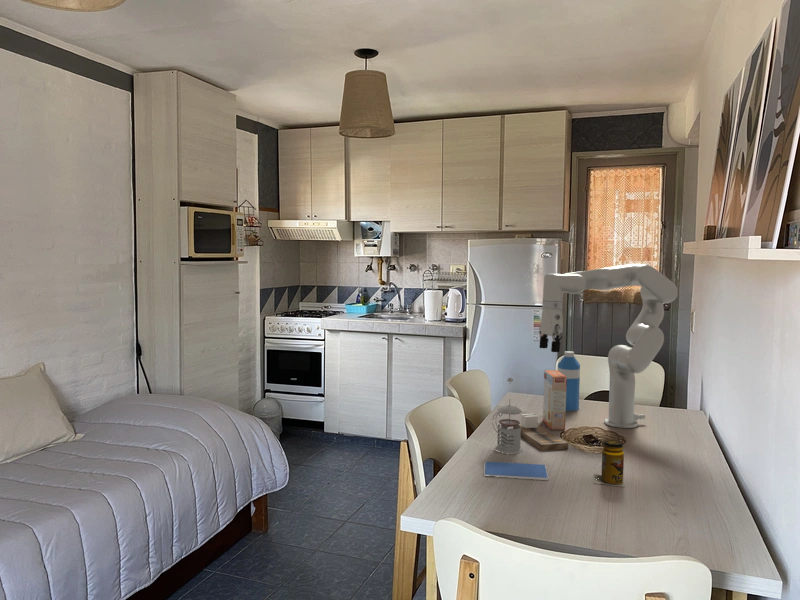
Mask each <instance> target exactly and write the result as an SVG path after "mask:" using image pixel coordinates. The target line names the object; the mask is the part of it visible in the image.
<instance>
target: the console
mask: <svg viewBox="0 0 800 600" xmlns="http://www.w3.org/2000/svg"><path fill="white" fill-rule="evenodd" d="M519 425H520V426H521V424H519ZM512 428H514V429H517V428H516V427H512ZM520 435H521V437H522V439H524V440H526V441H527V442H529V443H530V444H531V445H533V446H534V447H535V448H537V449H539V450H540V451H552V450H553V451H556V450H568V449H569V442H568V441H566V440H564V439H562V438H561V437H559V436H558V435H556V434H554V433H553V432H551V431H549V430H548V429H546V428H544V427H543V426H541V425H540V424H538V427H537V428H524V427H523V426H521V433H520ZM521 437H520V438H521Z"/></svg>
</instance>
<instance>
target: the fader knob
mask: <svg viewBox="0 0 800 600" xmlns="http://www.w3.org/2000/svg"><path fill="white" fill-rule="evenodd" d="M520 415H521V416H520V425H521V426H523V427H524V428H537V427H538V425H539V415H537V414H535V413H520Z"/></svg>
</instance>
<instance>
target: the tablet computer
mask: <svg viewBox="0 0 800 600" xmlns="http://www.w3.org/2000/svg"><path fill="white" fill-rule="evenodd" d="M547 469H548V468H547V465H546V464H540V463H539V464H538V463H524V462H523V463H519V462H505V461H504V462H502V461H501V462H500V461H485V462H484V464H483V473H484V475H489V476H499V477H508V478H507V479H514V478H518V479H519V480H531V479H532V480H535V481H550V480H549V473H548V470H547Z"/></svg>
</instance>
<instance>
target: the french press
mask: <svg viewBox="0 0 800 600" xmlns="http://www.w3.org/2000/svg"><path fill="white" fill-rule="evenodd" d="M513 381H514V380H513V378H512V377H508V378H507V382H509V383H512V382H513ZM497 411H498V412H496V413H494V414H493V416H492V419H494V417H495V418H497V416H499V417H502V416H503V415H508V418H505V419H503V418H502V419H500V420H498V423H499V424H498V425H497V422H495V426H496V428H497V430H496V428H495V426H494V424H492V428H493V430H494V431H495V432H496V434H497V445H496V446H495V447H494V450H495V449H496V450H498V451H500V452H503V453H502V454H504V453H508V454H507V455H518V454H517V453H519V454H521V453H523V452H524V448H522V447H521V435H520V433H521V426H520V425H521V421H519V420H517V419H511V415H513V416H514V415H519V414H520V415H521V414H522V410H521V409H520V408H519V407H517V406H515V405H511V400H509V404H507V405H503V406H500V407H499V408H497ZM500 414H501V415H500ZM510 427H512V428H510ZM513 427H516V428H517V429H514V428H513ZM496 450H495V451H496Z"/></svg>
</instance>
